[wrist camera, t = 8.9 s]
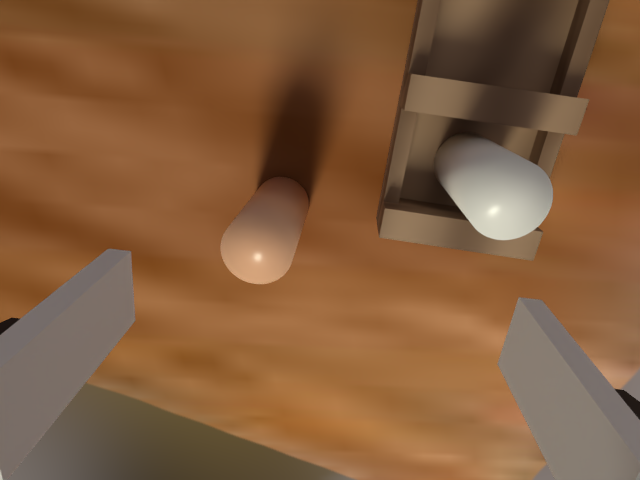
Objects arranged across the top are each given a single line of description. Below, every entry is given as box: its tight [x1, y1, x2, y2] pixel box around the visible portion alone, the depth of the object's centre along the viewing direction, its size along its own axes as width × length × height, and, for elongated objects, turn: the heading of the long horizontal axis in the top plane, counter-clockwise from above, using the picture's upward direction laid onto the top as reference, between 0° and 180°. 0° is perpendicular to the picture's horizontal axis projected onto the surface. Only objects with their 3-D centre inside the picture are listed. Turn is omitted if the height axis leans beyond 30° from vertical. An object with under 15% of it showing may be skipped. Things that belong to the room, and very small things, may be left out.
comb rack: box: [376, 0, 609, 261], centre depth 25 cm, size 10×26×4 cm, turn 173°
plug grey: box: [434, 132, 553, 240], centre depth 25 cm, size 4×4×9 cm
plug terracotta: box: [221, 177, 309, 284], centre depth 28 cm, size 4×4×9 cm
